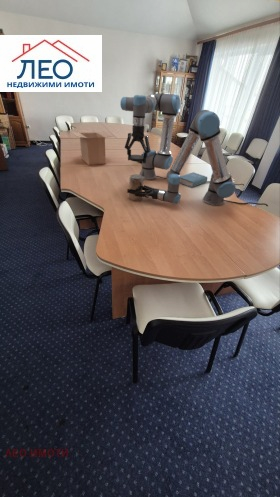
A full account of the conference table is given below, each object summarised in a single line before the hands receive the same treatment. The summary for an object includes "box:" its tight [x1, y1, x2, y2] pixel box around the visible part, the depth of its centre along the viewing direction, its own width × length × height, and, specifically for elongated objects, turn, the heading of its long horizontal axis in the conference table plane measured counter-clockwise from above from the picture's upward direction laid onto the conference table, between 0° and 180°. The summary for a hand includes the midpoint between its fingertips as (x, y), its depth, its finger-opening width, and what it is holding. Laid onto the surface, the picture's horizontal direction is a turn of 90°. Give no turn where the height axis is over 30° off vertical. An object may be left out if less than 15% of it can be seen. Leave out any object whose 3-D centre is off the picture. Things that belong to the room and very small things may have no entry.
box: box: [70, 129, 114, 166], centre depth 229 cm, size 44×36×27 cm
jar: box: [128, 173, 144, 202], centre depth 162 cm, size 10×10×16 cm
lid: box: [128, 154, 143, 163], centre depth 150 cm, size 11×11×2 cm
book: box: [180, 171, 208, 188], centre depth 200 cm, size 23×16×5 cm
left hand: (136, 161), depth 151 cm, fingers closed on lid, 11 cm apart
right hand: (130, 188), depth 164 cm, fingers closed on jar, 10 cm apart
